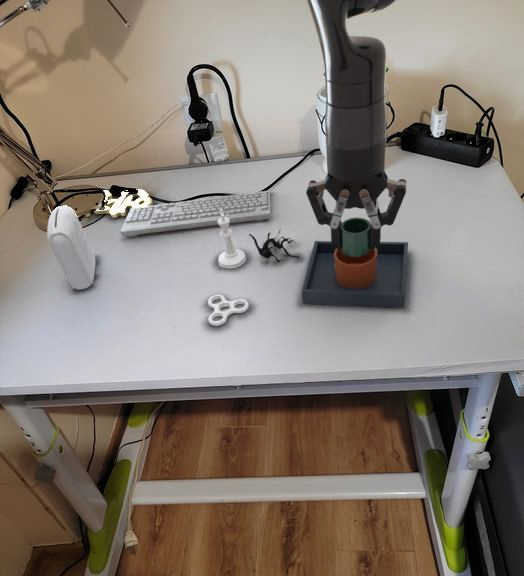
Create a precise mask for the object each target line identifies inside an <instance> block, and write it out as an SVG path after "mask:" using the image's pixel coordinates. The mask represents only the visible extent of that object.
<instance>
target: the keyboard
mask: <svg viewBox="0 0 524 576" xmlns="http://www.w3.org/2000/svg"><path fill="white" fill-rule="evenodd" d="M220 209H222V210H223V213H224V216H225V217H227V218H229V219H230V223H229V224H235V223H242V222H249V221H250V222H251V221H256V222H257V223H258V222H259V223H260V222H263V220H267V219H270V217H271V191H270V190H263V191H254V192H251V193H250V192H246V193H245V192H244V193H239V194H230V195H222V196H213V197H208V198H201V199H199V198H198V199H191V200H186V201H185V200H184V201H177V202H169V203H168V202H167V203H163V204H162V203H160V204H157V205H154V204H153V205H151V206H143V208H142V207H137V208H136V207H135V208H132V209H129V210H128V211H129V212H128V214H127V215H126V218H125V220H124V222H123V225H122V226H121V228H120V230H119V231H120V234H121V235H122V236H123V237H126V236H127V237H128V236H131V237H132V238H135V237H138V235H143V234H152V233H161V232H169V231H170V232H171V231H176V230H178V231H179V230H185V229H192V228H202V227H210V226H219V224H218V220H219V219H220V218H221V214H220Z"/></svg>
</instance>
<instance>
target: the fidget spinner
mask: <svg viewBox="0 0 524 576" xmlns="http://www.w3.org/2000/svg"><path fill="white" fill-rule="evenodd" d="M215 300H221V301H220V302H218V303H213V302H214V301H215ZM240 304H241V305H244V306H242V307H240V308H236V306H237V305H240ZM207 305H208V306H209V307H210V308H212V309H213V310H214V311H213V312H211V313H210V315H209V316H208V318H207V319H208V323H209V324H210V325H211V326H214V327H219V326H221V325H224V324H225V323H226V322H227V320H228V317H229V316H230V315H232V314H242V313H245V312H246V311H248V310H249V306H250V304H249V302H248V300H246V299H243V298H238V299H235V300H228V299H226V297H225V296H224V295H222V294H214V295H212V296H210V297H209V298H208V300H207ZM224 307H227V308H228V309H225V310H221V309H222V308H224ZM217 317H222V318H221V319H219V320H214V319H215V318H217Z"/></svg>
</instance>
